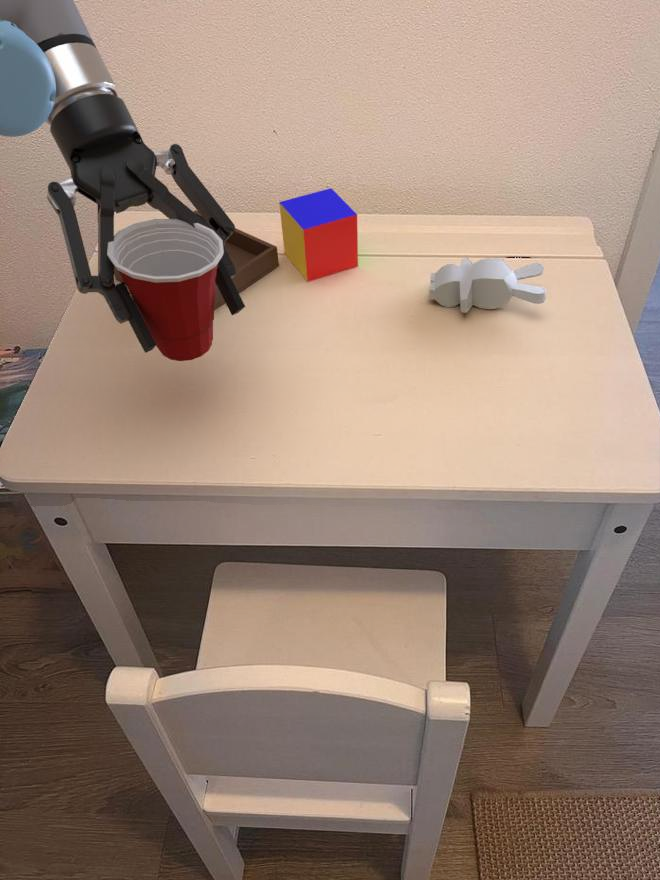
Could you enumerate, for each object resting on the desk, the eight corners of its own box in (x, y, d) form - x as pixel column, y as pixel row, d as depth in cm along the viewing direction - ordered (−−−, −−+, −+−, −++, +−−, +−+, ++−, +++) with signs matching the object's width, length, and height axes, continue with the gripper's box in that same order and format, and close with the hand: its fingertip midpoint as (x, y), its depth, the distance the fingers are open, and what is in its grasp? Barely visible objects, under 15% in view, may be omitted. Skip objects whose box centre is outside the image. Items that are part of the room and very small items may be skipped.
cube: (307, 281, 101) (303, 229, 95) (284, 253, 105) (279, 202, 99) (357, 266, 103) (357, 214, 97) (333, 239, 108) (331, 188, 101)
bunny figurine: (431, 251, 98) (543, 245, 96) (433, 283, 102) (541, 278, 100) (427, 292, 92) (547, 287, 90) (430, 324, 96) (545, 320, 94)
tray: (115, 279, 101) (109, 259, 99) (199, 228, 110) (195, 209, 107) (196, 322, 95) (191, 303, 93) (279, 265, 103) (277, 246, 101)
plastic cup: (250, 363, 75) (235, 262, 66) (146, 388, 72) (116, 286, 63) (224, 304, 81) (207, 205, 72) (128, 325, 79) (98, 225, 70)
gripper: (180, 102, 76) (275, 299, 80) (-29, 162, 67) (90, 379, 71) (195, 62, 69) (299, 280, 73) (-35, 124, 61) (97, 366, 65)
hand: (195, 329), depth 72 cm, fingers closed on plastic cup, 9 cm apart
